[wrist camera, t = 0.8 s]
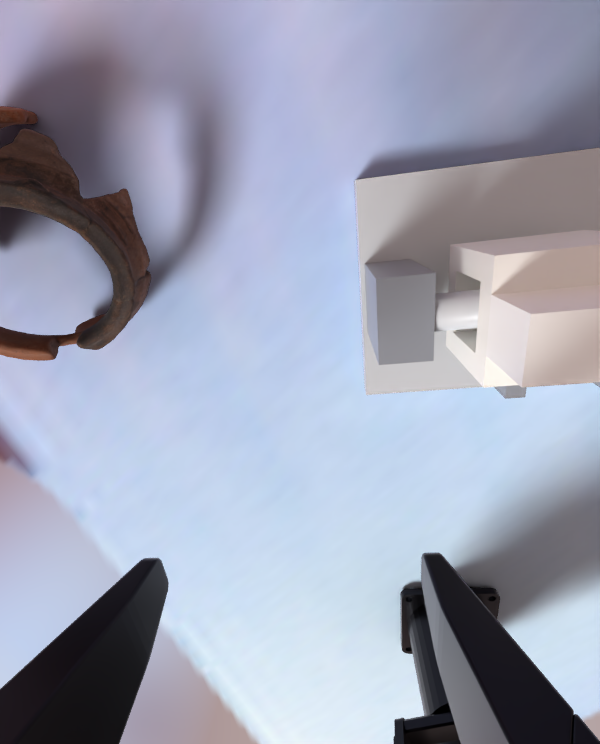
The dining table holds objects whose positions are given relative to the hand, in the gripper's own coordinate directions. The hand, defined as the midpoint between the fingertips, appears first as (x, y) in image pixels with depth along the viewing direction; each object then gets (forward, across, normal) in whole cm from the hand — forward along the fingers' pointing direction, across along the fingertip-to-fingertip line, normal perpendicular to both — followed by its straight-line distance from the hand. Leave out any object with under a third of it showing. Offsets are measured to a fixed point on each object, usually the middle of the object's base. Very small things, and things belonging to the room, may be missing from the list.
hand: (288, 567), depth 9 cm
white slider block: (+10, -9, -4) cm, 14 cm away
